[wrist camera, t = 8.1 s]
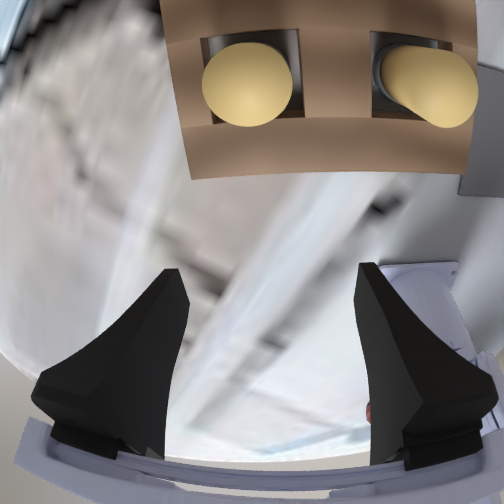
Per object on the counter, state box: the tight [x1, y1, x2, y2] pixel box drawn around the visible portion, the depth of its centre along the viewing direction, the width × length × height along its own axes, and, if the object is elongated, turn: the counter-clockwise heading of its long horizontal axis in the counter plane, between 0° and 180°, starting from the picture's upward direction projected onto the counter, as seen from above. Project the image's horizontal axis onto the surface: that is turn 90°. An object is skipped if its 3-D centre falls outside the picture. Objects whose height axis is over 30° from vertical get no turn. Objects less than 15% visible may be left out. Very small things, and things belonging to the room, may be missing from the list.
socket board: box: [160, 0, 478, 180], centre depth 15 cm, size 12×18×2 cm, turn 96°
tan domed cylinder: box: [202, 41, 292, 127], centre depth 14 cm, size 4×4×6 cm
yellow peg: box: [372, 43, 478, 128], centre depth 13 cm, size 4×4×6 cm
